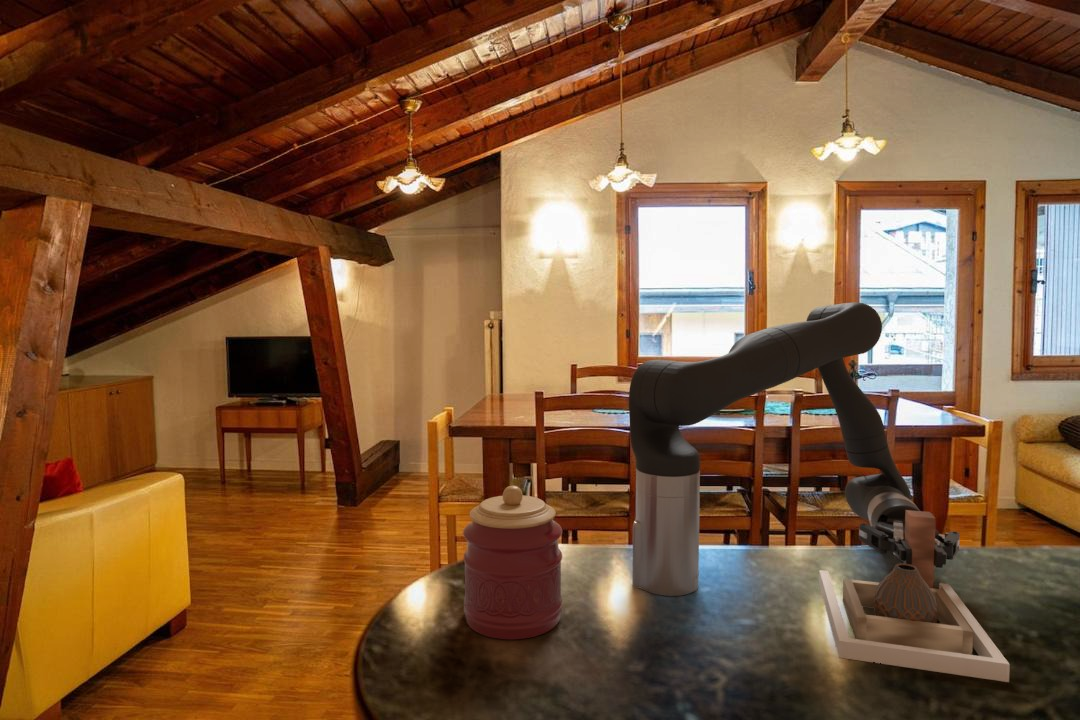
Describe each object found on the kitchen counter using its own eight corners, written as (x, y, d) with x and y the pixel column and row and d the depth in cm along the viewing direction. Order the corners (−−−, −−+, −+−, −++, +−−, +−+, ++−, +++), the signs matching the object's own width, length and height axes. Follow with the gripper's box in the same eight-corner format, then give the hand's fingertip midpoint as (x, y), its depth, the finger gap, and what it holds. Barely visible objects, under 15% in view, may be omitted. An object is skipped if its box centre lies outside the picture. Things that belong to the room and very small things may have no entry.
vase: (946, 652, 76) (949, 580, 75) (883, 646, 77) (885, 575, 76) (923, 625, 82) (926, 558, 82) (865, 620, 84) (867, 554, 83)
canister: (443, 619, 84) (441, 486, 83) (513, 588, 94) (512, 469, 93) (512, 653, 76) (512, 506, 75) (582, 616, 85) (582, 485, 84)
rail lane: (839, 657, 75) (839, 640, 74) (819, 583, 95) (819, 570, 95) (1008, 682, 69) (1009, 664, 69) (948, 598, 90) (949, 584, 90)
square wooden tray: (856, 642, 77) (859, 545, 77) (837, 585, 94) (839, 504, 93) (971, 658, 74) (976, 556, 73) (930, 596, 90) (933, 512, 89)
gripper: (848, 494, 105) (867, 526, 88) (947, 501, 100) (986, 537, 84) (847, 539, 105) (865, 580, 89) (946, 548, 101) (984, 593, 84)
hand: (924, 558), depth 86 cm, fingers closed on square wooden tray, 3 cm apart
